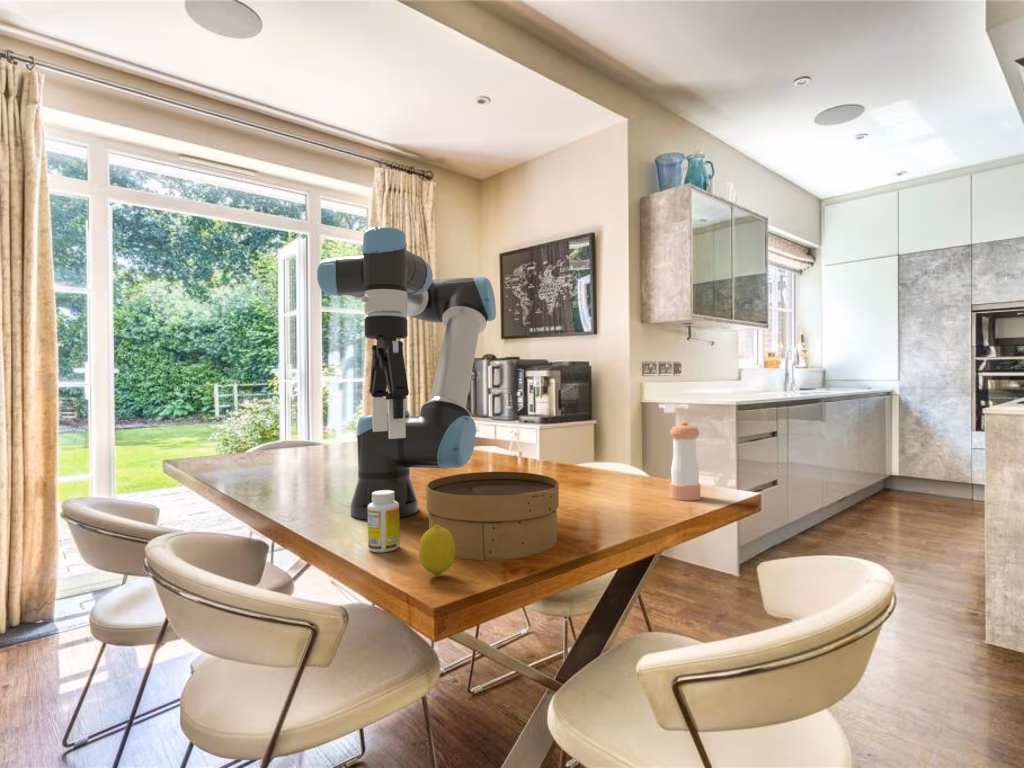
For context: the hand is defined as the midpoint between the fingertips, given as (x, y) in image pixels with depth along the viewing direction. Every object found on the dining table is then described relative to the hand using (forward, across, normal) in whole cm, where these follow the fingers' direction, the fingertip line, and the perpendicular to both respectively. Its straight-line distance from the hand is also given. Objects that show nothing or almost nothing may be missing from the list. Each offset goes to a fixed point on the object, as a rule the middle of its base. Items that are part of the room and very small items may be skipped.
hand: (388, 434), depth 98 cm
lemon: (+21, +18, +3) cm, 27 cm away
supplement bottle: (+21, 0, -1) cm, 21 cm away
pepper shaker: (+21, -7, +76) cm, 80 cm away
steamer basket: (+21, +4, +19) cm, 28 cm away
